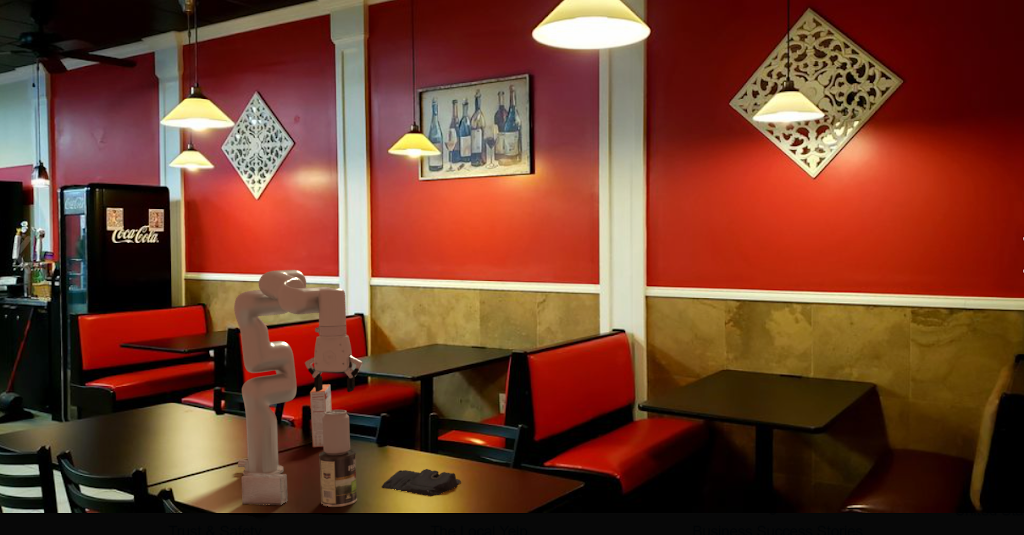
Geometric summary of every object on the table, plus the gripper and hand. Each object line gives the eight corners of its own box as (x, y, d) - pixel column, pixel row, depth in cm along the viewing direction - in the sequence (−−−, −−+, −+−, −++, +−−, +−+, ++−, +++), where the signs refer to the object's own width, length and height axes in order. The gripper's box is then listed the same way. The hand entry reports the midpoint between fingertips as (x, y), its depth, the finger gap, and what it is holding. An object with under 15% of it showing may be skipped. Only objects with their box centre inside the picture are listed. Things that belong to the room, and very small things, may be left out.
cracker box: (317, 438, 306) (315, 384, 305) (333, 437, 306) (331, 383, 306) (311, 447, 292) (309, 391, 291) (328, 447, 292) (326, 390, 292)
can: (343, 456, 225) (342, 414, 224) (319, 455, 226) (317, 413, 226) (354, 449, 232) (353, 408, 232) (330, 449, 234) (329, 408, 233)
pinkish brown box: (242, 504, 229) (241, 476, 229) (249, 499, 233) (248, 472, 233) (280, 506, 227) (279, 478, 226) (287, 501, 230) (286, 474, 230)
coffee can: (360, 495, 234) (358, 447, 234) (352, 506, 224) (351, 457, 224) (325, 496, 235) (324, 448, 234) (316, 507, 224) (314, 458, 224)
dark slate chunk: (408, 475, 255) (407, 460, 255) (465, 484, 244) (465, 469, 244) (377, 489, 242) (376, 473, 242) (436, 499, 231) (436, 482, 231)
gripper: (298, 333, 226) (300, 393, 227) (356, 333, 223) (357, 394, 223) (310, 330, 233) (312, 388, 234) (366, 330, 230) (368, 389, 230)
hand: (334, 390), depth 229 cm, fingers open, 9 cm apart
